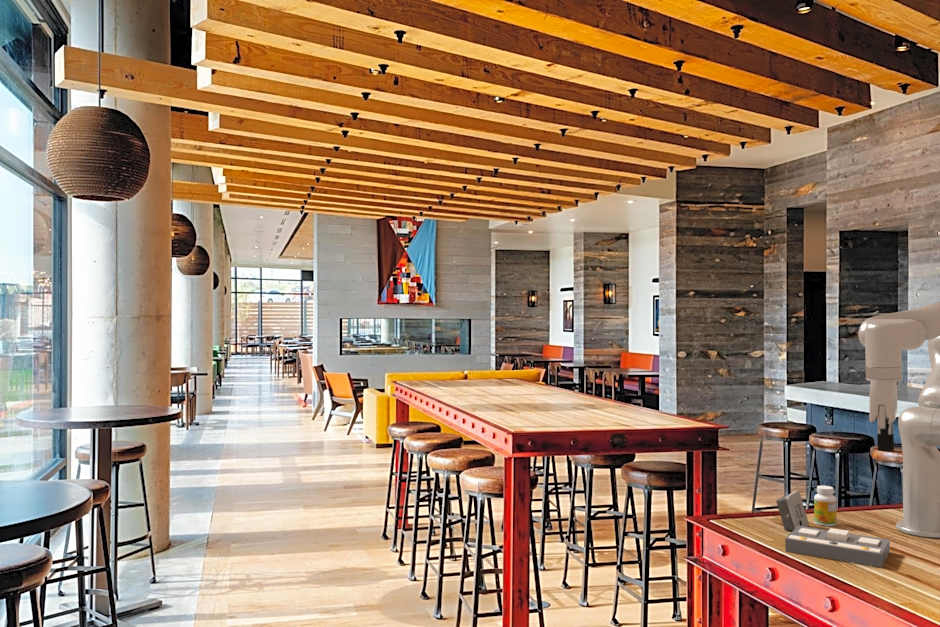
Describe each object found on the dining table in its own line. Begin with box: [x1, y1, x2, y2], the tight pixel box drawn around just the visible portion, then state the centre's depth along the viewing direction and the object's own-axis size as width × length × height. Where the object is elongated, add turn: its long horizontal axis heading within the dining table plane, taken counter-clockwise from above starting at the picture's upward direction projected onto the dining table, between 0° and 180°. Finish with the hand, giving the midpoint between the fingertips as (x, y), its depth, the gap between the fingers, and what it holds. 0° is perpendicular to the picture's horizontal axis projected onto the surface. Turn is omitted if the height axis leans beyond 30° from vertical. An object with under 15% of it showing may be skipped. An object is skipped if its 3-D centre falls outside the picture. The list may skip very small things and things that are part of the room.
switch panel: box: [784, 526, 891, 568], centre depth 176 cm, size 13×20×3 cm, turn 54°
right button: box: [858, 537, 880, 547], centre depth 173 cm, size 4×4×2 cm
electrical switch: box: [775, 490, 810, 531], centre depth 196 cm, size 9×5×9 cm, turn 141°
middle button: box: [827, 527, 850, 542], centre depth 177 cm, size 4×4×2 cm
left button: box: [798, 528, 819, 537], centre depth 181 cm, size 4×4×2 cm
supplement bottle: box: [813, 485, 838, 527], centre depth 199 cm, size 5×5×10 cm
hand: (885, 450), depth 179 cm, fingers closed
